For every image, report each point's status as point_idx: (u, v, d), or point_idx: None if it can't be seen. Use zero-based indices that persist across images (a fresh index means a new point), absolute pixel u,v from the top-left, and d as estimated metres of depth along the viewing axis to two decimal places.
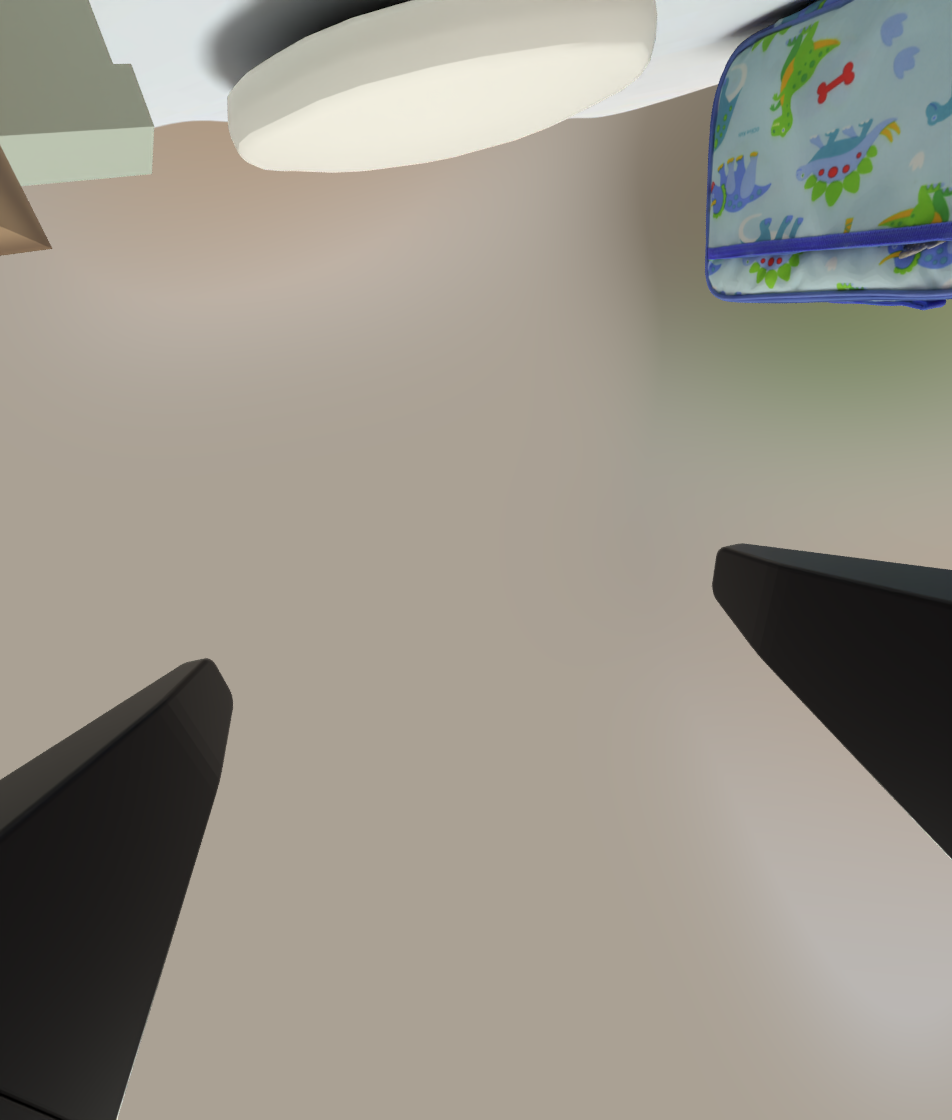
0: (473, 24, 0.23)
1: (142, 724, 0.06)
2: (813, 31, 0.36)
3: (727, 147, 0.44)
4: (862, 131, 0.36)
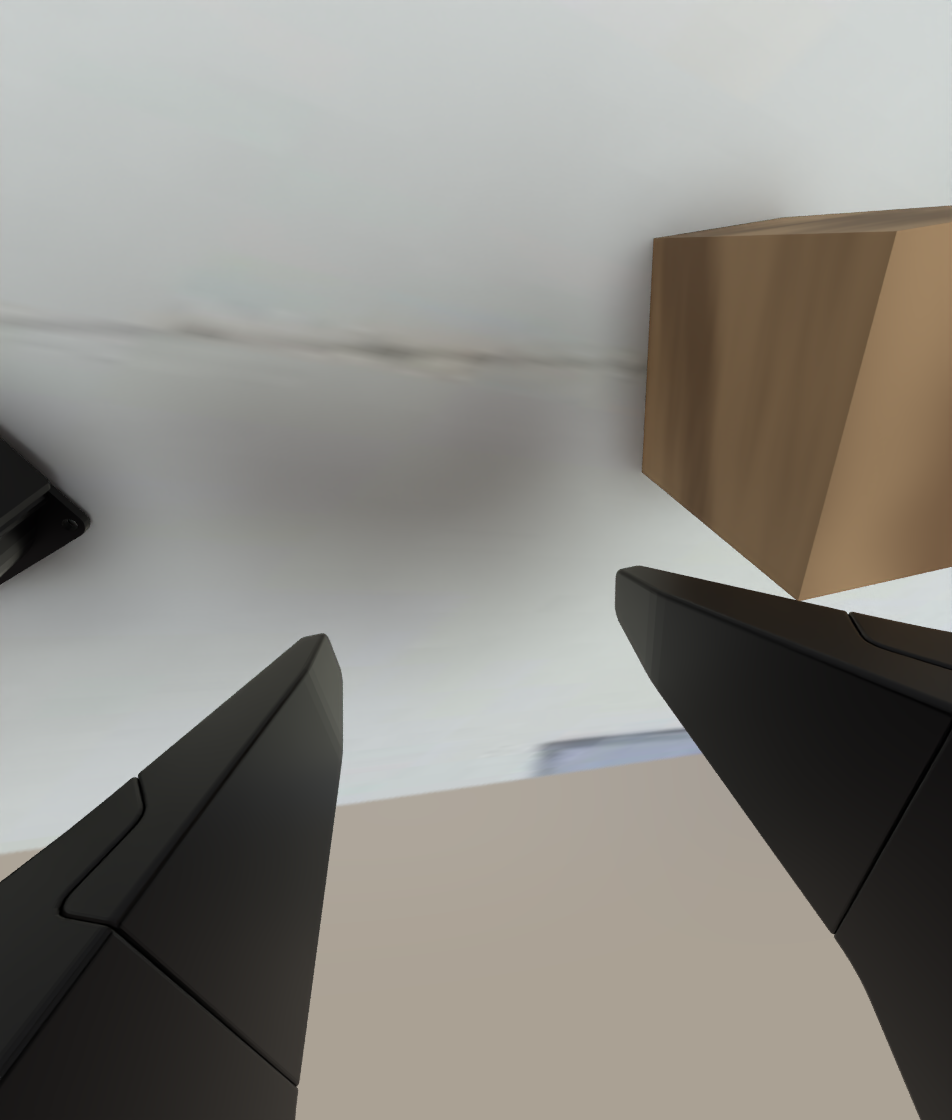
0: None
1: (294, 690, 0.07)
2: None
3: None
4: None
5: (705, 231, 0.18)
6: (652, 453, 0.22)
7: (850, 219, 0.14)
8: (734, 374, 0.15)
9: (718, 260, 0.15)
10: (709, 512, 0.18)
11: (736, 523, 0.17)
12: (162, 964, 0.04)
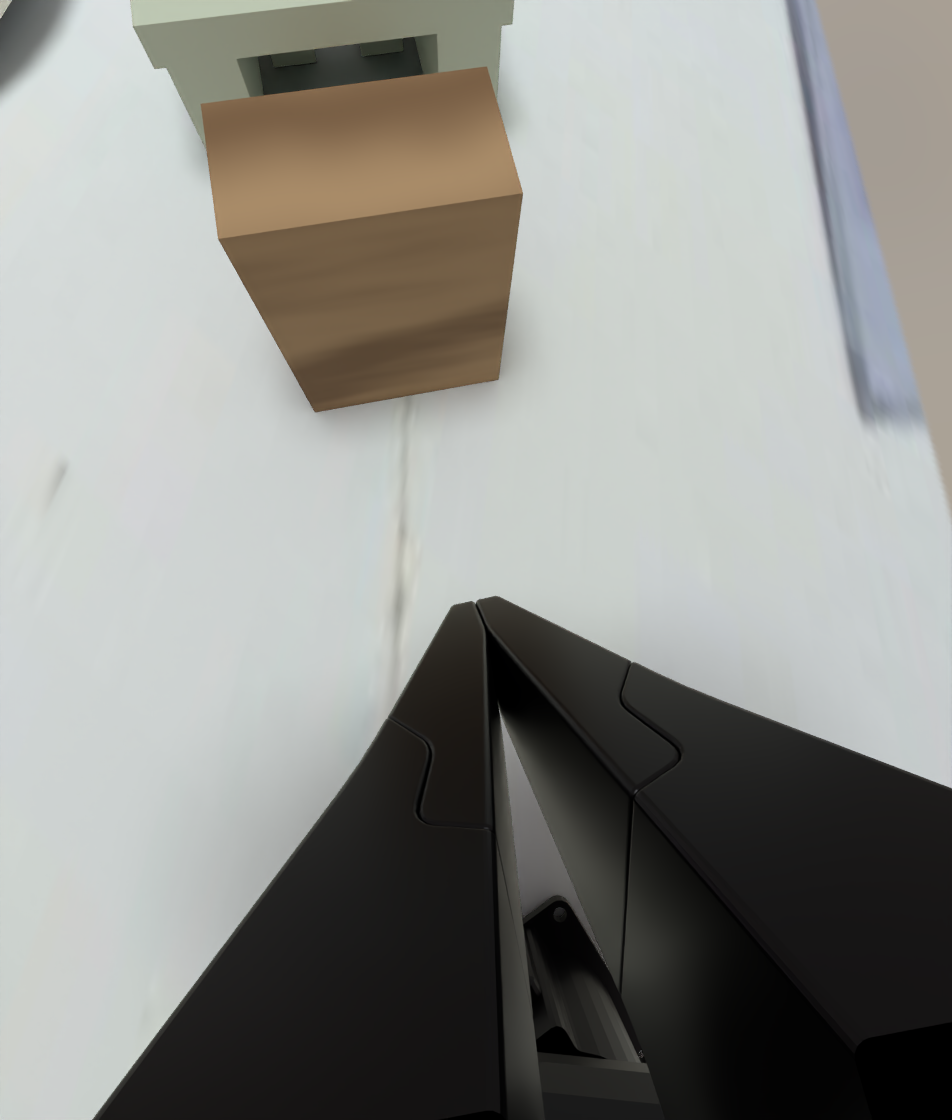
0: None
1: (486, 647, 0.07)
2: None
3: None
4: None
5: None
6: (475, 373, 0.24)
7: None
8: (368, 320, 0.19)
9: (301, 357, 0.20)
10: (493, 305, 0.20)
11: (487, 277, 0.18)
12: (502, 876, 0.04)
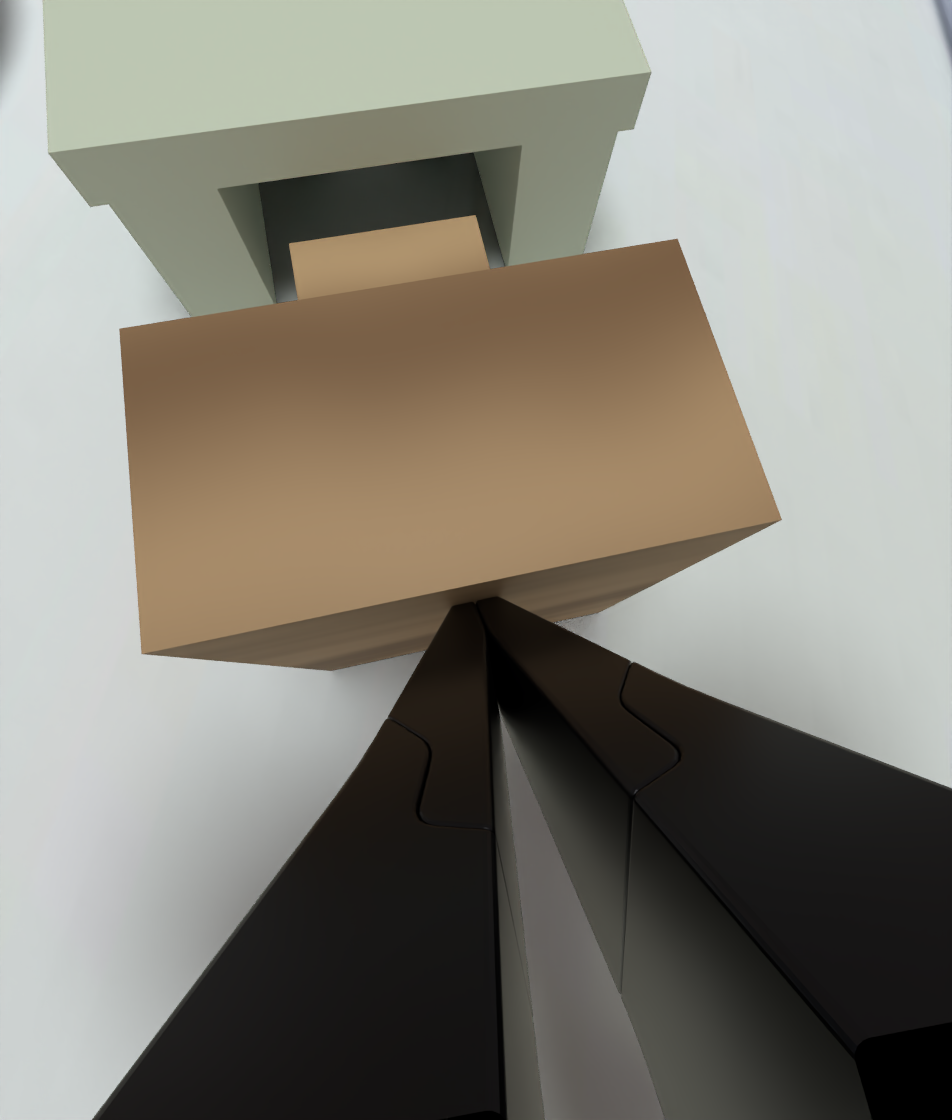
0: None
1: (486, 647, 0.07)
2: None
3: None
4: None
5: None
6: (570, 616, 0.16)
7: None
8: (429, 629, 0.11)
9: (313, 661, 0.12)
10: (635, 586, 0.12)
11: (645, 576, 0.10)
12: (503, 876, 0.04)
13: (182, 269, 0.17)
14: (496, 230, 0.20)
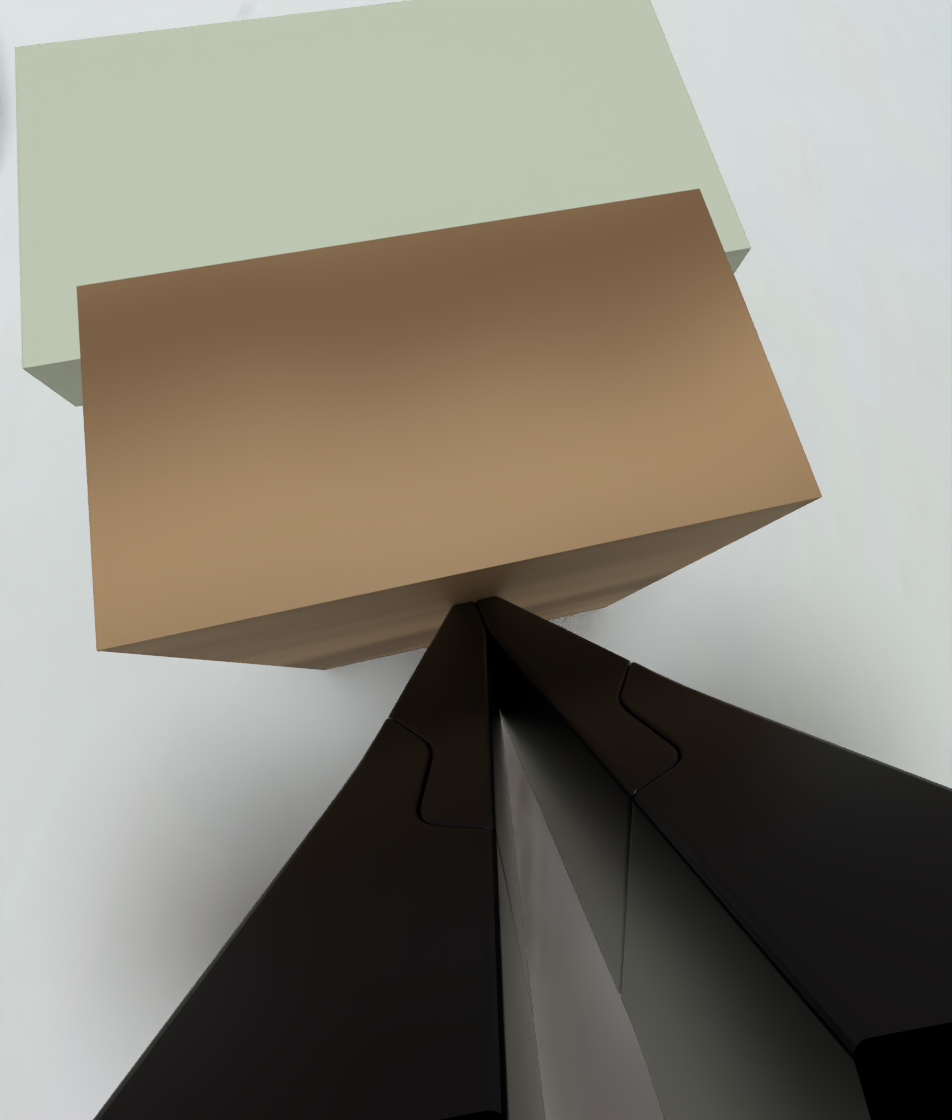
0: None
1: (486, 647, 0.07)
2: None
3: None
4: None
5: None
6: (575, 611, 0.15)
7: None
8: (426, 624, 0.10)
9: (303, 659, 0.12)
10: (648, 577, 0.11)
11: (661, 565, 0.10)
12: (503, 875, 0.04)
13: None
14: None
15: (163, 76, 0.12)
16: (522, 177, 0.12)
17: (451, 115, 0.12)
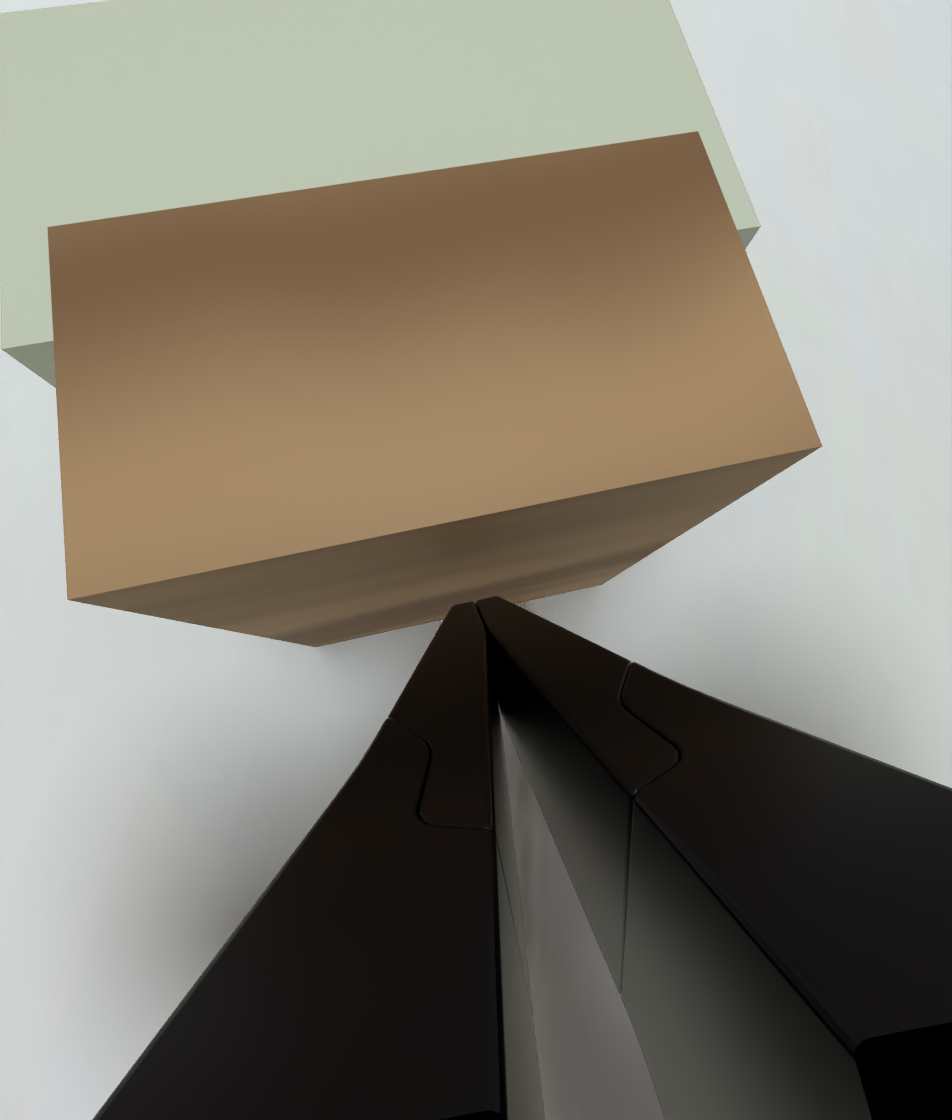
0: None
1: (486, 647, 0.07)
2: None
3: None
4: None
5: None
6: (570, 587, 0.15)
7: None
8: (417, 592, 0.10)
9: (291, 631, 0.11)
10: (644, 547, 0.11)
11: (656, 530, 0.09)
12: (503, 876, 0.04)
13: None
14: None
15: (148, 45, 0.12)
16: (523, 152, 0.12)
17: (449, 87, 0.12)
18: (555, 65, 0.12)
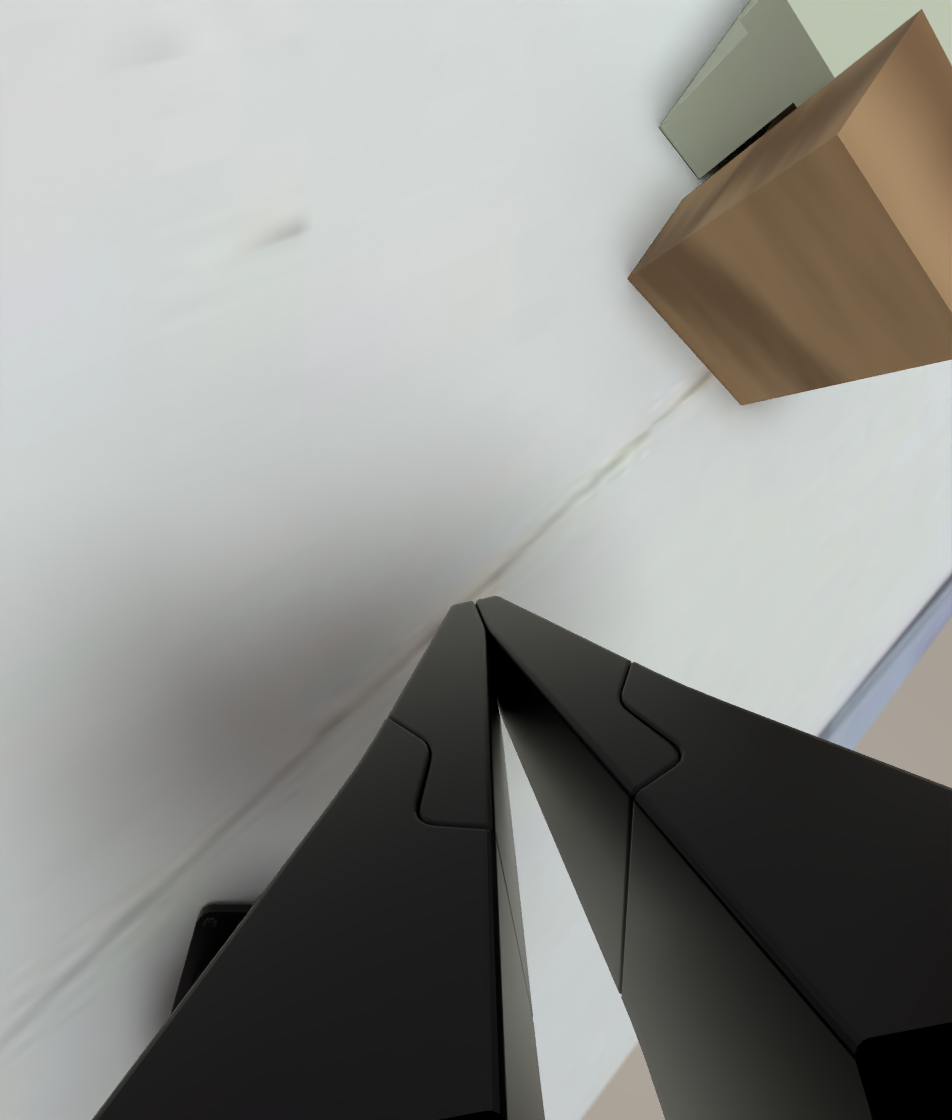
0: None
1: (486, 647, 0.07)
2: None
3: None
4: None
5: (655, 246, 0.23)
6: (740, 386, 0.26)
7: (758, 158, 0.19)
8: (776, 286, 0.20)
9: (700, 246, 0.20)
10: (834, 374, 0.22)
11: (867, 359, 0.20)
12: (503, 876, 0.04)
13: (709, 100, 0.21)
14: None
15: None
16: None
17: None
18: None
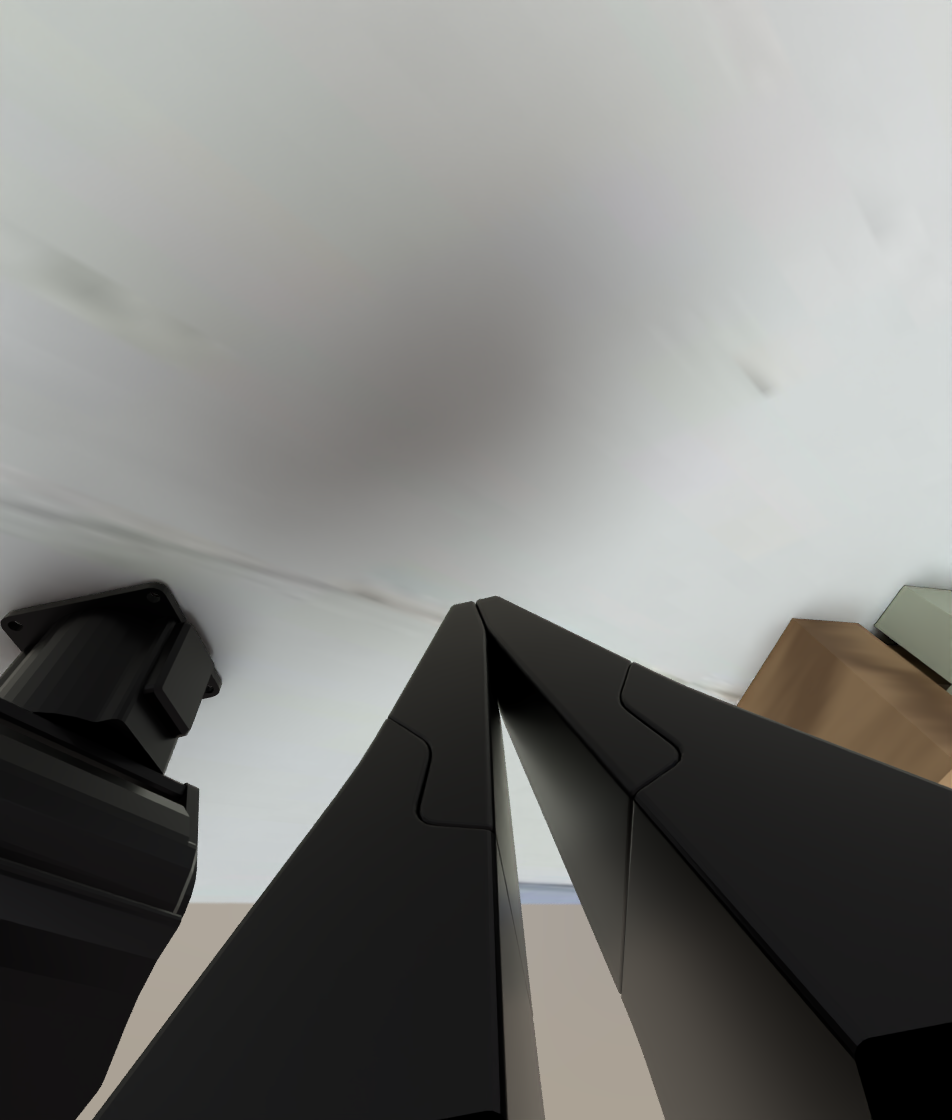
0: None
1: (486, 647, 0.07)
2: None
3: None
4: None
5: (822, 628, 0.30)
6: None
7: (913, 688, 0.26)
8: (833, 738, 0.27)
9: (841, 676, 0.27)
10: None
11: None
12: (503, 876, 0.04)
13: (936, 622, 0.28)
14: None
15: None
16: None
17: None
18: None
